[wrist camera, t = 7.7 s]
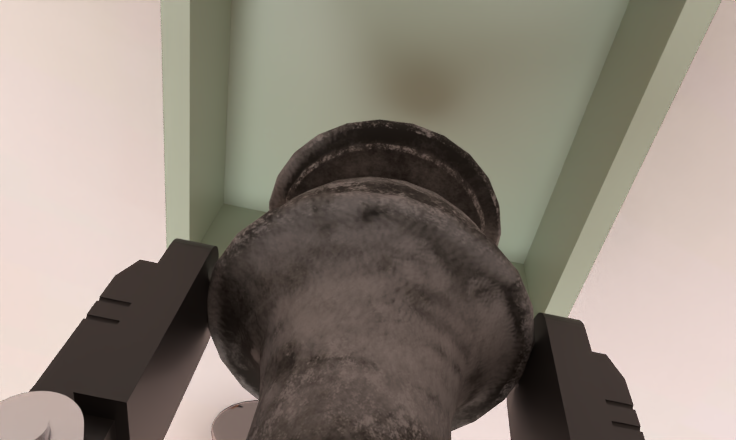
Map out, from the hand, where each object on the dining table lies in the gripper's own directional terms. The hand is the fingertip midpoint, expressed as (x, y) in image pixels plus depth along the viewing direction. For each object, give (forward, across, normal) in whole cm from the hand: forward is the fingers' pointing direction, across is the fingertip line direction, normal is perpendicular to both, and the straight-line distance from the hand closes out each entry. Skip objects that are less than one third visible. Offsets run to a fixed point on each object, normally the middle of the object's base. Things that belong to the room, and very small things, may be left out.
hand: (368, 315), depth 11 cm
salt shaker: (+3, 0, 0) cm, 3 cm away
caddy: (+12, 0, 0) cm, 12 cm away
